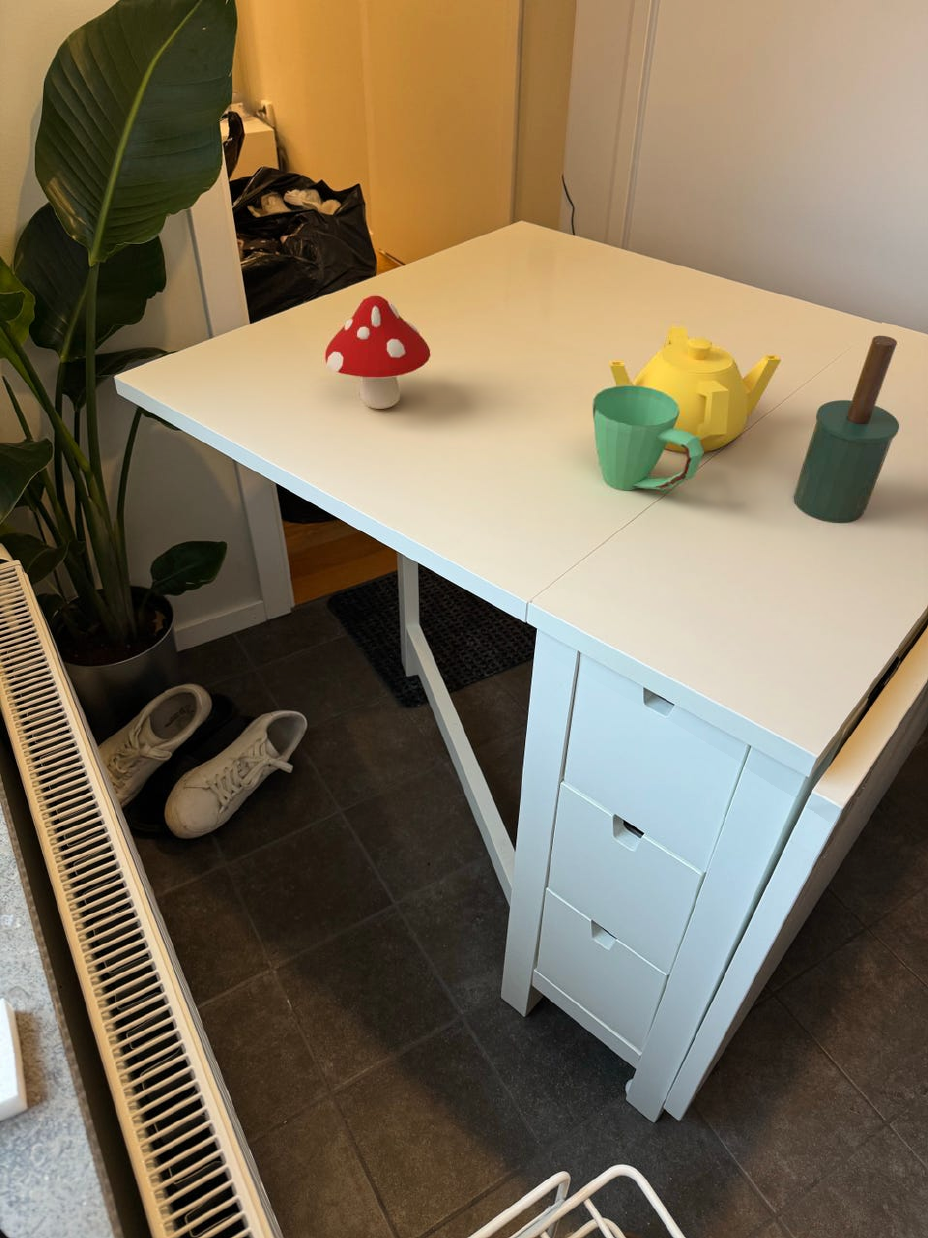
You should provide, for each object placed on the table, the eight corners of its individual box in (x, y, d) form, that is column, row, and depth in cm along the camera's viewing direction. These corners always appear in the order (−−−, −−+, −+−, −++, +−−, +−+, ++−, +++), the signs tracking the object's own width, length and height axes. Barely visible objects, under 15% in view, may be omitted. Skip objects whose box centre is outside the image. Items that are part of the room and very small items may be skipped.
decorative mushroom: (356, 440, 114) (347, 327, 104) (310, 396, 123) (298, 288, 113) (449, 413, 120) (450, 303, 110) (399, 373, 128) (396, 267, 119)
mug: (566, 476, 108) (575, 401, 102) (620, 449, 113) (632, 376, 107) (659, 530, 100) (675, 453, 94) (713, 500, 105) (732, 424, 99)
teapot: (659, 386, 127) (673, 303, 119) (769, 424, 119) (792, 338, 111) (596, 431, 117) (607, 344, 109) (711, 476, 109) (732, 385, 101)
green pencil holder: (879, 511, 104) (910, 431, 97) (829, 530, 101) (858, 449, 94) (827, 478, 109) (854, 400, 102) (779, 495, 106) (803, 415, 99)
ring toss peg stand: (912, 436, 97) (947, 348, 91) (856, 455, 94) (889, 365, 87) (852, 403, 103) (881, 317, 96) (797, 419, 100) (823, 332, 93)
